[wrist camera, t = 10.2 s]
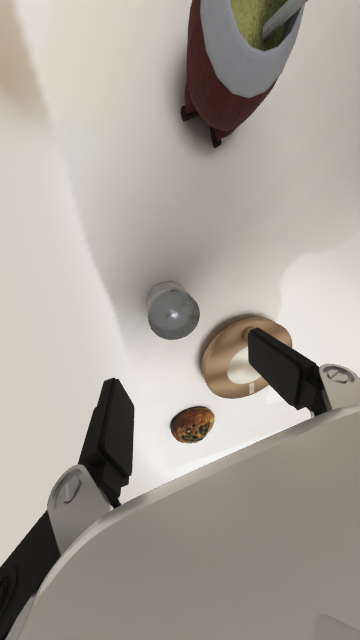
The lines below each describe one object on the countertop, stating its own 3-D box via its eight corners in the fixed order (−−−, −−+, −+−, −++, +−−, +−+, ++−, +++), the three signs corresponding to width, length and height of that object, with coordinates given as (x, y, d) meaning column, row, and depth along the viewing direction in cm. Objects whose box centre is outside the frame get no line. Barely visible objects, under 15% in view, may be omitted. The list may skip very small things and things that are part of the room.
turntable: (192, 337, 24) (209, 367, 18) (286, 303, 25) (332, 321, 19) (209, 400, 32) (225, 437, 26) (280, 372, 33) (312, 400, 27)
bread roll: (173, 407, 33) (181, 431, 29) (215, 398, 37) (227, 418, 33) (165, 436, 38) (170, 460, 33) (203, 425, 42) (212, 445, 38)
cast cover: (159, 273, 21) (165, 281, 15) (193, 293, 23) (209, 306, 18) (140, 309, 22) (139, 328, 17) (174, 325, 25) (182, 346, 19)
